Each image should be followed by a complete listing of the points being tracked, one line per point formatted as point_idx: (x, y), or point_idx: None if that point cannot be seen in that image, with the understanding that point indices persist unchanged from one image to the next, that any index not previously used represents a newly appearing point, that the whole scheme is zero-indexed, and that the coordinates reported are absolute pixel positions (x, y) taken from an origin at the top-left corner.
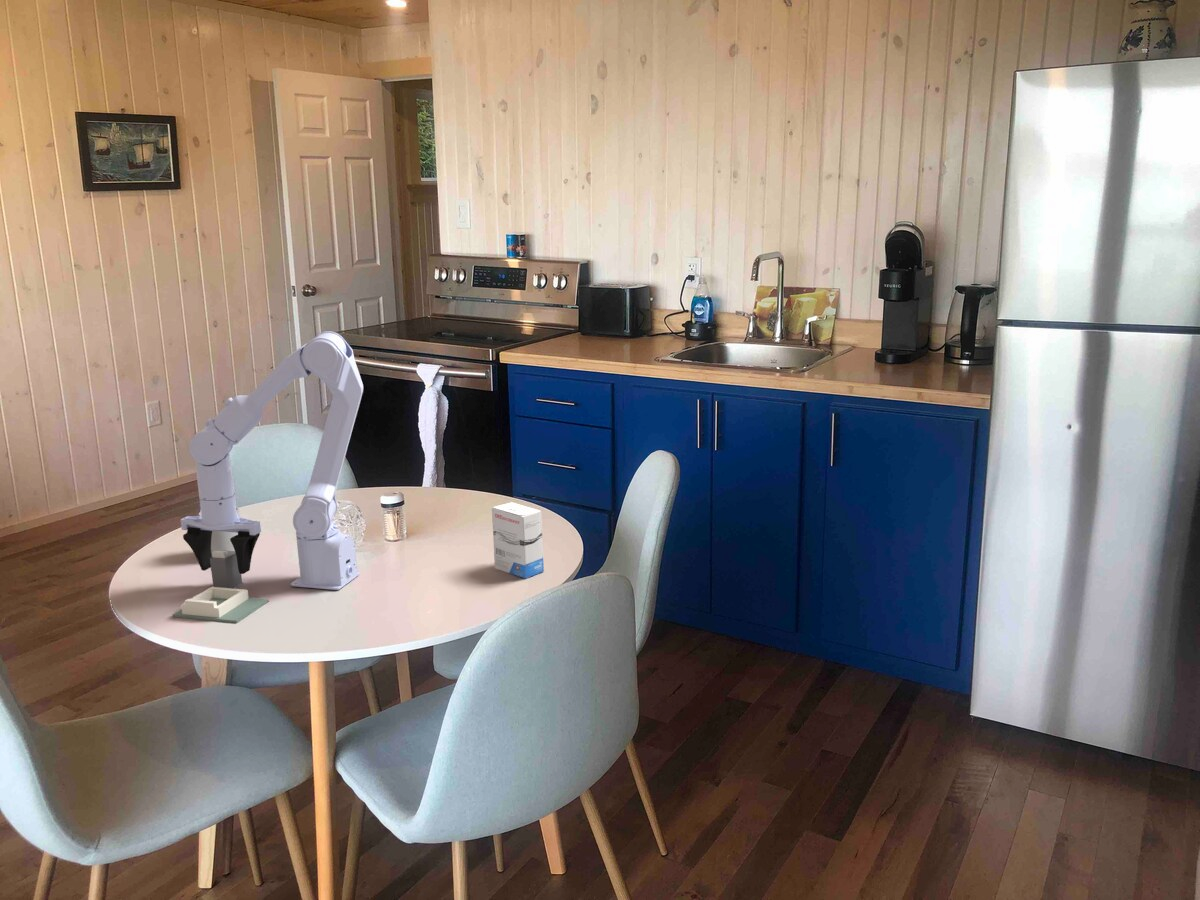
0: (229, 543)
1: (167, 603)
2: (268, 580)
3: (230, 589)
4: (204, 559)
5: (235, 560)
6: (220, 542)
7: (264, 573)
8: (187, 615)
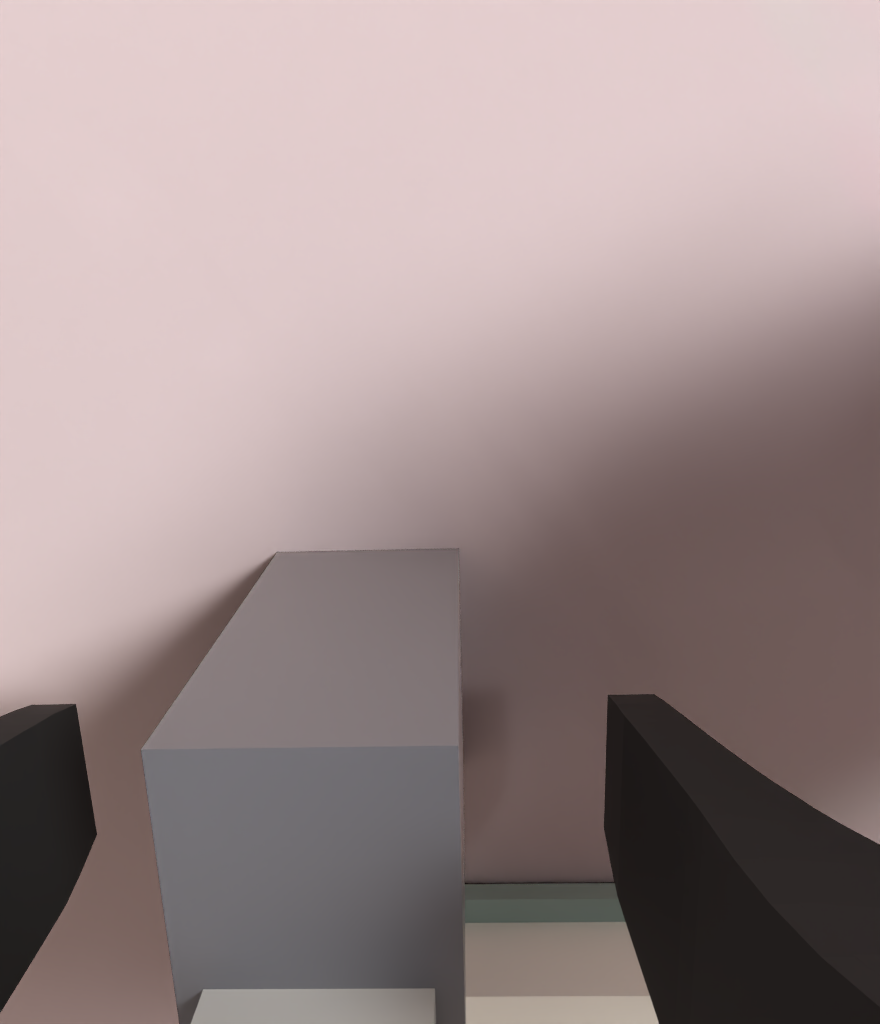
0: None
1: None
2: (703, 411)
3: (653, 1018)
4: (13, 913)
5: (460, 778)
6: None
7: (528, 216)
8: None
